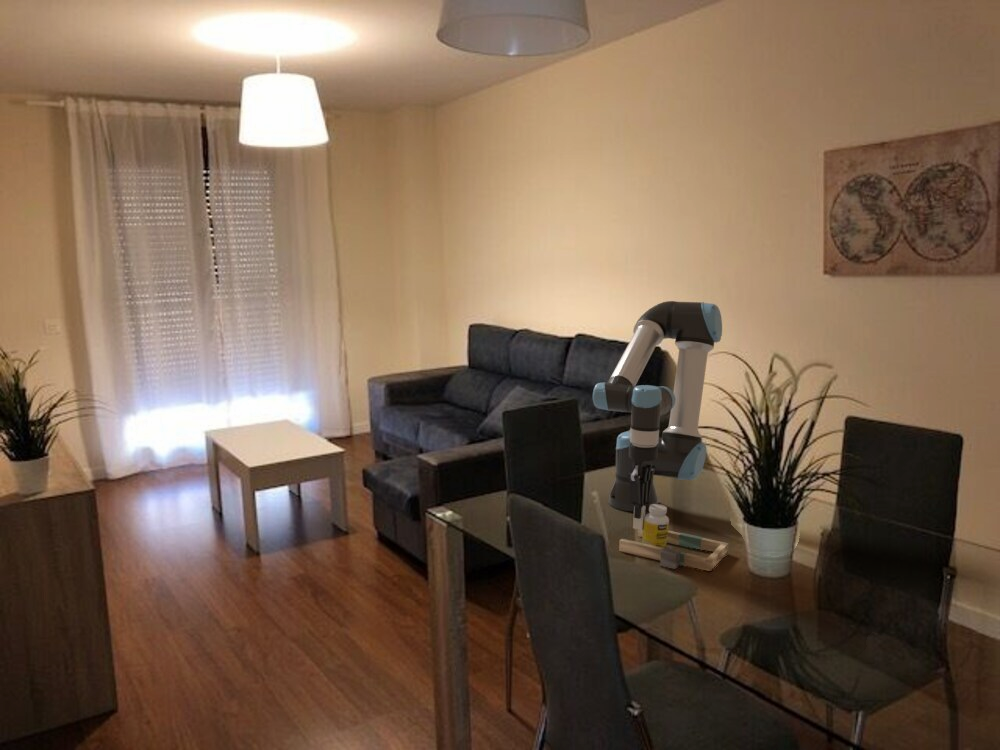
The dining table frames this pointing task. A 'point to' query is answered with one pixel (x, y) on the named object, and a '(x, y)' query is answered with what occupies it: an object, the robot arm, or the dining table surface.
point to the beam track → (678, 557)
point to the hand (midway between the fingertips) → (638, 528)
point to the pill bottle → (656, 526)
